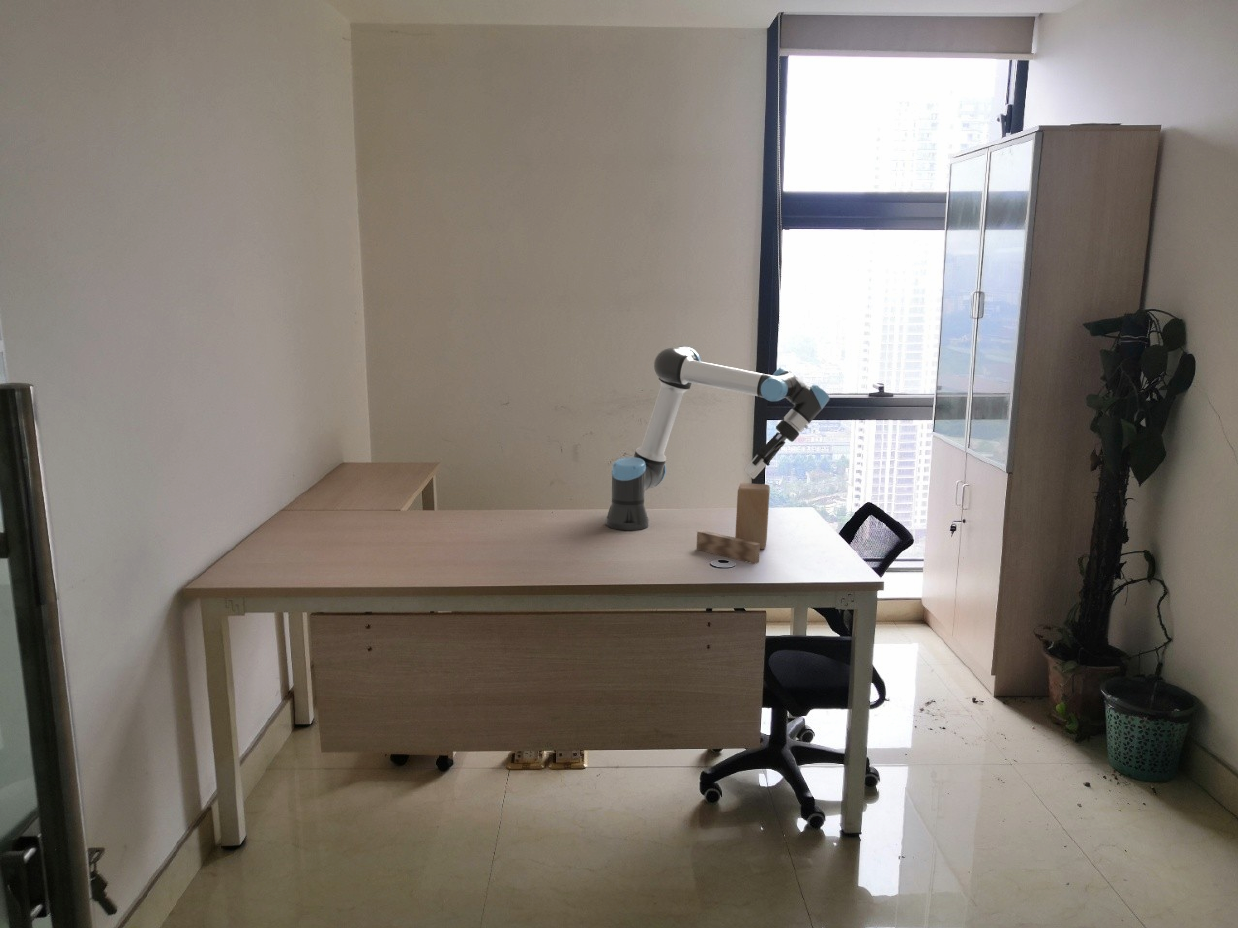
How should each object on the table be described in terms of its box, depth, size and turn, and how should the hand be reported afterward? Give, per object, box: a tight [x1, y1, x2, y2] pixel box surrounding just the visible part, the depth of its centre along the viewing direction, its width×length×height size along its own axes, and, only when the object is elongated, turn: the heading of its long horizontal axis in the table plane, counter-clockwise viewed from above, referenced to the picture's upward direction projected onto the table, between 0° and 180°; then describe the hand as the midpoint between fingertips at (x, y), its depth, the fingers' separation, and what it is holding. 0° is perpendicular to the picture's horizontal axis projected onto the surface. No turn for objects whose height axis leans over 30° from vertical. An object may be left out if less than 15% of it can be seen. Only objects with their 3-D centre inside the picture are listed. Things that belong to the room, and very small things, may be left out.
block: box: [734, 482, 771, 550], centre depth 295 cm, size 10×10×20 cm
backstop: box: [696, 529, 761, 565], centre depth 284 cm, size 22×2×6 cm, turn 50°
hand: (748, 474), depth 296 cm, fingers open, 13 cm apart
